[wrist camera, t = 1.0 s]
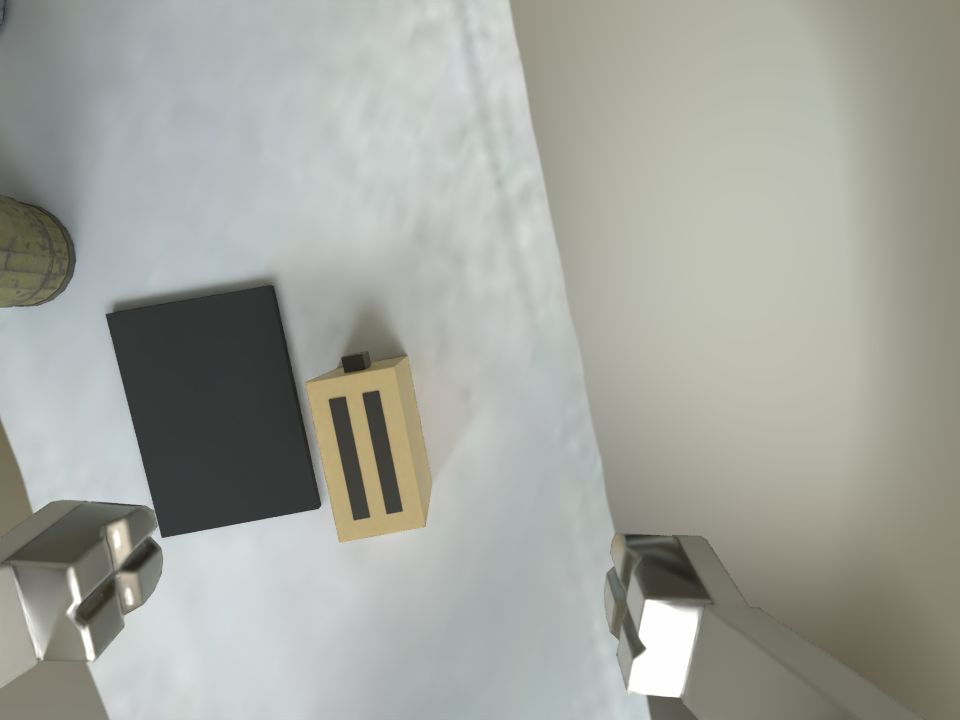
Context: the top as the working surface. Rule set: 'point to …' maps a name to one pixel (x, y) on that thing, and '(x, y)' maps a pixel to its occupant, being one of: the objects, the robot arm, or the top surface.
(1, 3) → the moka pot
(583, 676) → the top surface
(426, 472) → the toaster
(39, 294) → the thermos
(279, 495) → the mat
